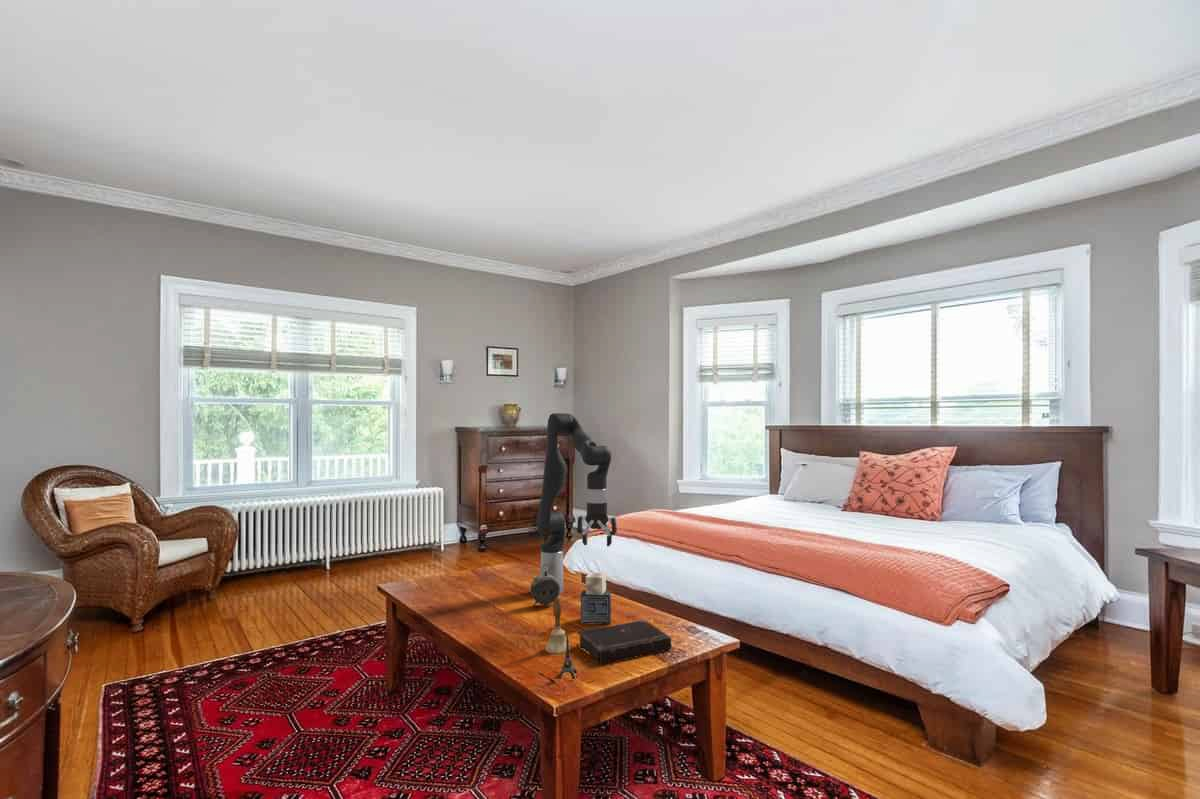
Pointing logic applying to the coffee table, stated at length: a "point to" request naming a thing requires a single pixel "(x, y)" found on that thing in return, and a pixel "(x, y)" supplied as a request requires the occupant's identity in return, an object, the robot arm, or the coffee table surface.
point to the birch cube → (596, 583)
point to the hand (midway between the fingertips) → (596, 545)
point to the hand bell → (557, 633)
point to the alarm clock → (545, 588)
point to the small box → (596, 608)
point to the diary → (623, 641)
